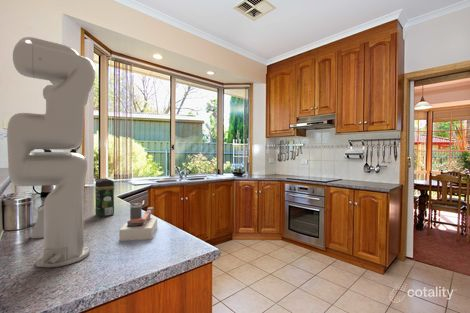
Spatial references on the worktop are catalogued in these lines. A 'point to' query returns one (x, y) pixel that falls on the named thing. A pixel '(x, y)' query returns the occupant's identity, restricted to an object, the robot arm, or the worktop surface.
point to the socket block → (139, 230)
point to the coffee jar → (104, 197)
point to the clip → (145, 217)
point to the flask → (38, 226)
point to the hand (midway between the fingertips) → (61, 159)
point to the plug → (135, 214)
